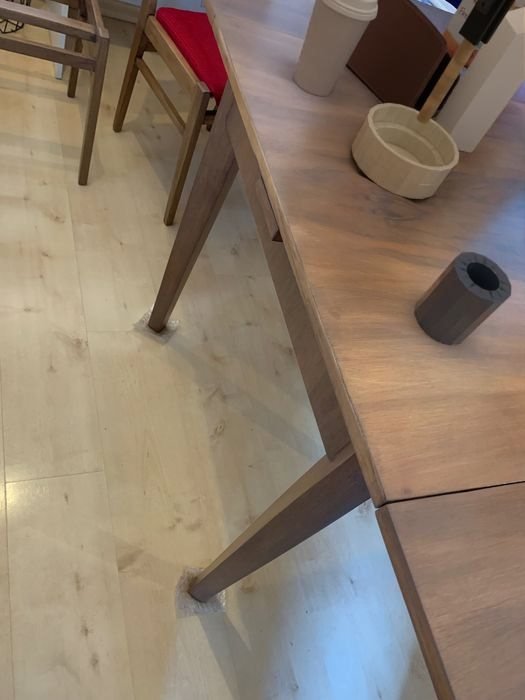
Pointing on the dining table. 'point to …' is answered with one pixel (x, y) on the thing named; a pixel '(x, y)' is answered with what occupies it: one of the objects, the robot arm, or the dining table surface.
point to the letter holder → (401, 55)
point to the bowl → (404, 151)
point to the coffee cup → (331, 42)
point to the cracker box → (457, 22)
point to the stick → (446, 81)
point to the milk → (487, 84)
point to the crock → (462, 298)
